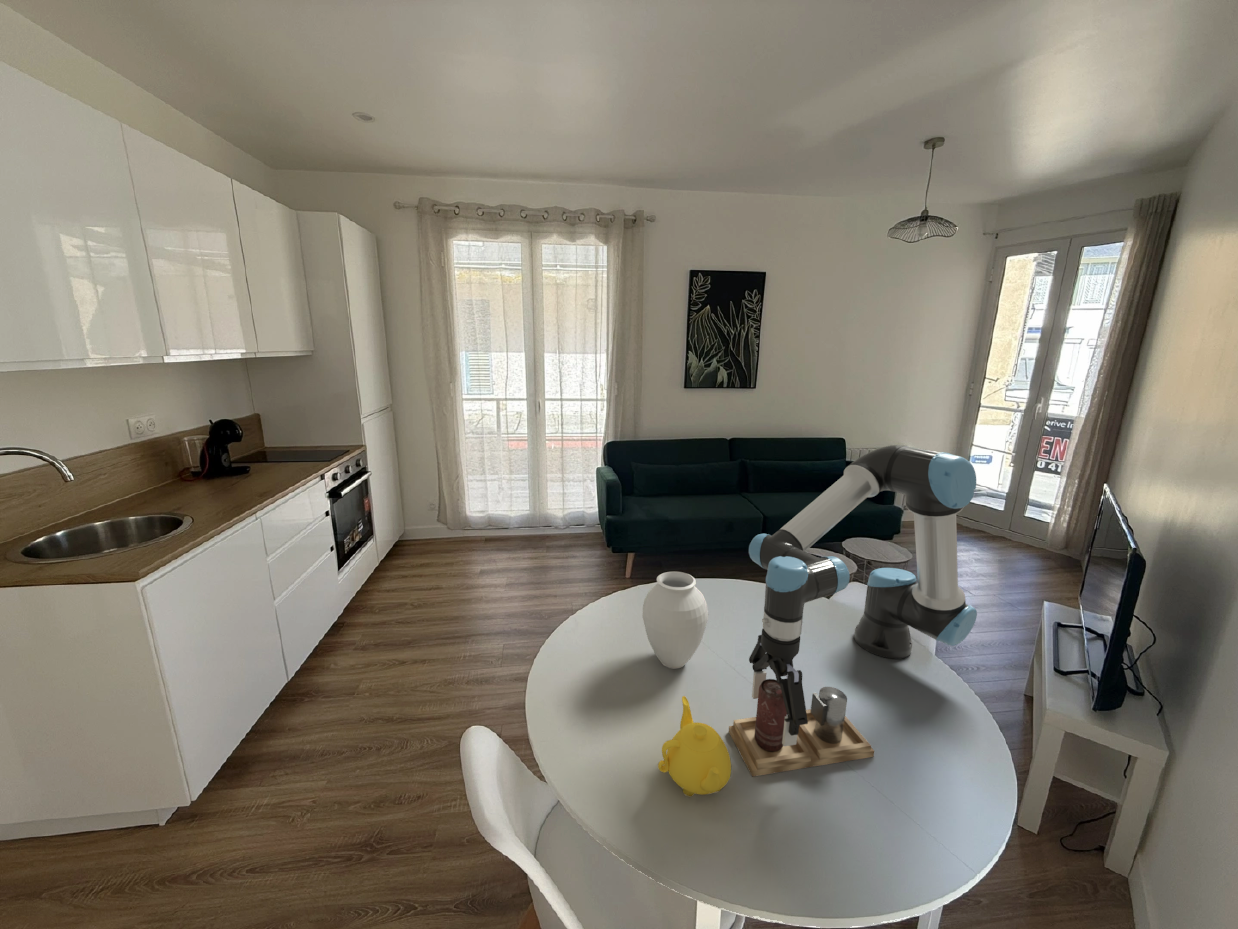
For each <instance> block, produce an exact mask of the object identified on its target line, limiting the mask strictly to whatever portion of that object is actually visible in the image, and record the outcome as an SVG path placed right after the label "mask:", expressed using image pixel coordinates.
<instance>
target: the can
mask: <svg viewBox="0 0 1238 929" xmlns="http://www.w3.org/2000/svg"><path fill="white" fill-rule="evenodd" d="M756 705H757V706H756V716H755V717H756V725H755V741H756V742H757V744H758V745H759V746H760V747H761V748H762V749H764V750H766V751H768V752H777V751H779V750H780V749H781V748H782V747H783V744H782V739H783V730H784V720H785V716H787V712H786V708H785V704H784V699H783V695H782V691H781V687H780V684H779V683H777V680H776V678H775V679H774V678H773V679H772V678H768V679H767V678H766V680H764V681H763V682H762V683H761V685H760V686H759V693H758V698H757V704H756Z"/></svg>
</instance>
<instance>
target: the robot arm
mask: <svg viewBox="0 0 1238 929" xmlns="http://www.w3.org/2000/svg"><path fill="white" fill-rule="evenodd" d="M975 470H976V469H975V468H974V466H973V464H972V463H971V462H970V461H969V460H968V459H966V458H965V457H963V456H960V455H957V454H956V455H955V454H952V453H949V452H945V451H941V452H940V451H935V450H930V449H924V448H918V447H913V446H908V445H903V444H894V445H893V444H891V445H887V446H883V447H880V448H876V449H873V450H872V451H869V452H867V453H866V454H863V455H862V456H860V457H858V458H856V459H855V460H854V461H852V462H851V463H850V464H848V465H847V466H846V467H845V469H844V470H843V475H842V476H840V478H839V479H837V481H835V482H834V483H833V484H831V486H829V487H828V488H826V490H824V491H823V492H822V493H821V494H820V495H819V496H817V497H816V498H815V499H814V500H813V501H812V502H810V503H809V504H808V505H806V506H805V507H804V508H803V509H802V510H801V511H799V512H798V513H797V514H796V515H795V516H793V517H792V519H790V520H789V521H788V522H787V523H785V524H784V525H783V526H782V527H781V528H780V529H778V530H777V531H776V532H775V533H773V534H772V535H771V534H769V533H768V534H767V533H760V534H757V535H755V536H754V537H753V538H752V540H750V541H751V542H750V543H749V545H748V555H749V558H750V559H751V560H752V562H754V563H755V564H756V565H758V566H759V567H761V568H762V569H764V570H767V572H766V576H765V591H764V605H763V606H764V607H763V618H762V620H761V621H762V629H761V634H759V635H758V636H757V642H756V644H755V645H754V648H753V649H752V652H751V654H750V655H749V657H748V661H749V664H752V670H753V679H752V680H753V681H752V690H751V698H752V700H755V699H756V700H758V693H759V686H760V685H761V683H762V682H763V681H764V680H766V679H767V671H766V670H768V668H770V670H772V672H773V673H774V675H775V680H777V683H779V684H780V687H781V691H782V695H783V699H784V704H785V708H786V712H787V716H785V720H784V730H783V739H782V744H783V746H791V745H796V743H797V735H798V732H799V725H804V724H808V720H807V713H806V710H807V707H806V701H805V700H806V699H805V694H804V688H803V687H804V686H803V671H802V670H801V669H800V670H799V669H798V670H797V669H795V668H794V663H793V661H794V658H795V657H796V656H797V655H798V654H799V653H800V644H801V635H802V628H803V619H804V618H803V616H804V607H805V604H806V603H810V602H812V601H815V600H818V599H822V598H824V597H828V596H834V595H835V594H837V593H838V592H841V591H843V590H846V588H847V587H848V585H849V583H850V571H849V568H848V567H847V565H846V563H845V562H844V561H843V560H841V559H840V558H839V557H837V556H831V555H830V556H822V557H817V556H815V555H813V554H811V553H809V552H808V551H807V550H809V549H810V548H811V547H812V546H813V545H814V544H815V543H816V542H818V541H819V540H820V539H821V538H823V536H824V535H826V534H827V533H829V531H830V530H831V529H833V528H834V527H835V526H836V525H837V524H838V523H839V522H841V521H842V520H843V519H844V518H845V517H846V516H847V515H849V514H850V512H852V511H853V510H854V509H855V508H857V506H859V505H860V504H861V503H863V502H864V501H865V500H866V499H867V498H873V497H875V496H877V495H878V494H879V493H880V492H883V491H890V492H893V493H897V494H901V495H904V496H905V506H906V509H907V510H908V511H909V512H911V513H912V514H913V522H914V525H913V526H914V539H915V540H914V541H915V554H916V555H915V557H916V572H917V574H916V575H917V576H916V575H915V574H914V573H913V572H911V571H908V570H905V569H902V568H895V567H881V568H880V567H879V568H876V569H874V570H871V572H870V573H869V576H868V579H867V580H868V582H866V596H865V601H864V608H863V609H864V610H863V615H862V616H861V617H860V620H859V622H858V624H857V625H856V626H855V628H854V634H853V639H854V641H855V642H856V644H858V645H859V646H860V647H861V648H862V649H863V650H865V651H867V652H869V653H871V654H873V655H876V656H878V657H883V658H886V659H887V658H888V659H896V660H897V659H905V658H907V657H908V656H910V655H911V653H912V649H913V642H912V637H911V633H910V632H911V631H910V628H913V629H915V630H916V631H919V632H920V633H922V634H924V635H926V636H928V637H929V638H932V639H934V640H936V641H937V642H941V643H943V644H944V645H945V644H946V645H947V646H951V647H953V646H958V645H959V644H960V643H962V642H963V641H964V640H965V639H966V638H967V637H968V635H969V634H970V633H971V631H972V629H973V628H974V626H975V623H976V620H977V616H978V612H977V609H976V608H975V607H973V606H972V605H971V604H967V603H966V594H965V592H964V590H963V589H962V588H961V587H960V586H959V581H958V580H959V577H958V575H959V574H958V537H957V536H958V535H957V533H958V531H957V514H959V513H960V512H962V511H963V509H964V507H966V506H968V505H969V503H970V502H972V500H973V498H974V496H975V490H976V489H977V473H976V471H975ZM806 551H807V552H806ZM782 677H786V678H782Z"/></svg>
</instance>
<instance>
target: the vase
mask: <svg viewBox="0 0 1238 929" xmlns="http://www.w3.org/2000/svg"><path fill="white" fill-rule="evenodd" d="M696 584H697V580H696V578H695V577H694V576H692V575H691V574H689V573H686V572H682V571H676V570H675V571H667V572H663V573H661V574H659V575H658V576H657V577H656V584H655V585H654V586H652V587H651V588H650V589H649V591H647V594H646V596H645V598H644V600H643V604H642V605H643V606H642V621H643V626H644V629H645V634H646V637H647V639H648V642H649V644H650V646H651V649H652V650H653V652H654V654H655V657H657V659H658V660H659V661H660V663H661V664H662V665H663V666H664V667H666V668H669V669H674V670H675V669H680V668H683V667H684V666H685V665H686V664H687V663H688V662H689V661H690V660H691V659H692V658H693V656H694V655H695V653H696V651H697V649H698V648H699V646H700V644H701V642H702V640H703V637H704V634H705V630H706V628H707V624H708V620H709V609H708V603H707V601H706V599H705V596H704V594H703V593H702V592H701V591H700V590H699V588H697V587H696Z"/></svg>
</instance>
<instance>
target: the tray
mask: <svg viewBox="0 0 1238 929" xmlns="http://www.w3.org/2000/svg"><path fill="white" fill-rule="evenodd" d="M806 713H807V720H808V724H804V725H799V732H798V735H797V743H796V745H791V746H783V747H782V748H781V749H780V750H779V751H777V752H768V751H766V750H764V749H762V748H761V747H760V746H759V745H758V744H757V742H756V741H755V725H756V716H753V717H747V718H739V719H733V723H732V724H733V725H730V726H728V733H729V735H730V737H731V740H732V741H733V743H734V745H735V746H736V748H737V751H738V753H739V754H740V755H741V758H742V759H743V761H744V763H745V765H746V767H747V770H748V771H749V773H750V775H751V777H757V776H758V777H759V776H764V775H771V774H778V773H783V772H789V771H795V770H801V769H807V768H814V767H817V766H819V767H820V766H825V765H832V764H836V763H844V762H850V761H856V760H862V759H867V758H873V757H874V756H875V750H874V749H873V748H872V744H870V742H869V741H868V740H867V739H866V738H865V736H863V734H862V733H861V732H860V731H859V729H858V728H857V727H856V726H855V725H854V723H852V722H851V721H850V719H849V718H848V717H847V716H846V715H845V719H844V726H843V734H842V740H841V742H839V743H837V744H830V743H827V742H824V741H822V740H821V739H820V738H819V737H818V736H817V735H816V733H815V723H816V719H815V717H814V716H813V715H812V714H811V708H809V709H806Z"/></svg>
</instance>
